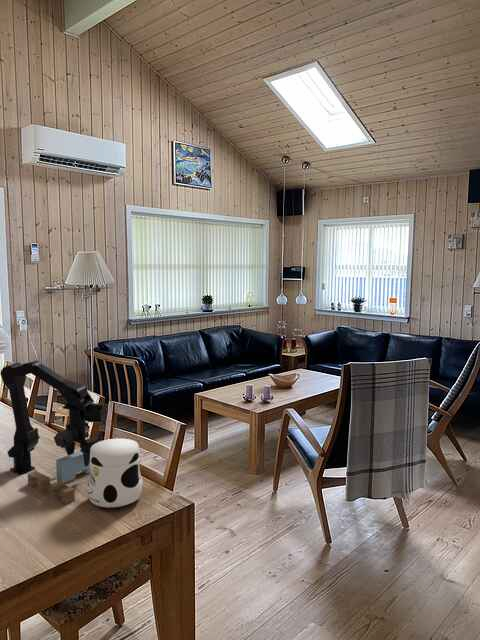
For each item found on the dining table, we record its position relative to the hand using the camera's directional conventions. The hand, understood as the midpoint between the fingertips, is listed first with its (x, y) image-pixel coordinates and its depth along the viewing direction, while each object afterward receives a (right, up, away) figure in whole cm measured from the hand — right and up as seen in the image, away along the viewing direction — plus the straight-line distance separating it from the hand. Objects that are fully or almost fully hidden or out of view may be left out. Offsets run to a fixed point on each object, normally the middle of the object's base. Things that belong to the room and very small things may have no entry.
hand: (78, 462), depth 178 cm
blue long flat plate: (0, -5, +1) cm, 5 cm away
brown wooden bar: (-5, -6, -13) cm, 15 cm away
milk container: (+18, -7, -17) cm, 26 cm away
